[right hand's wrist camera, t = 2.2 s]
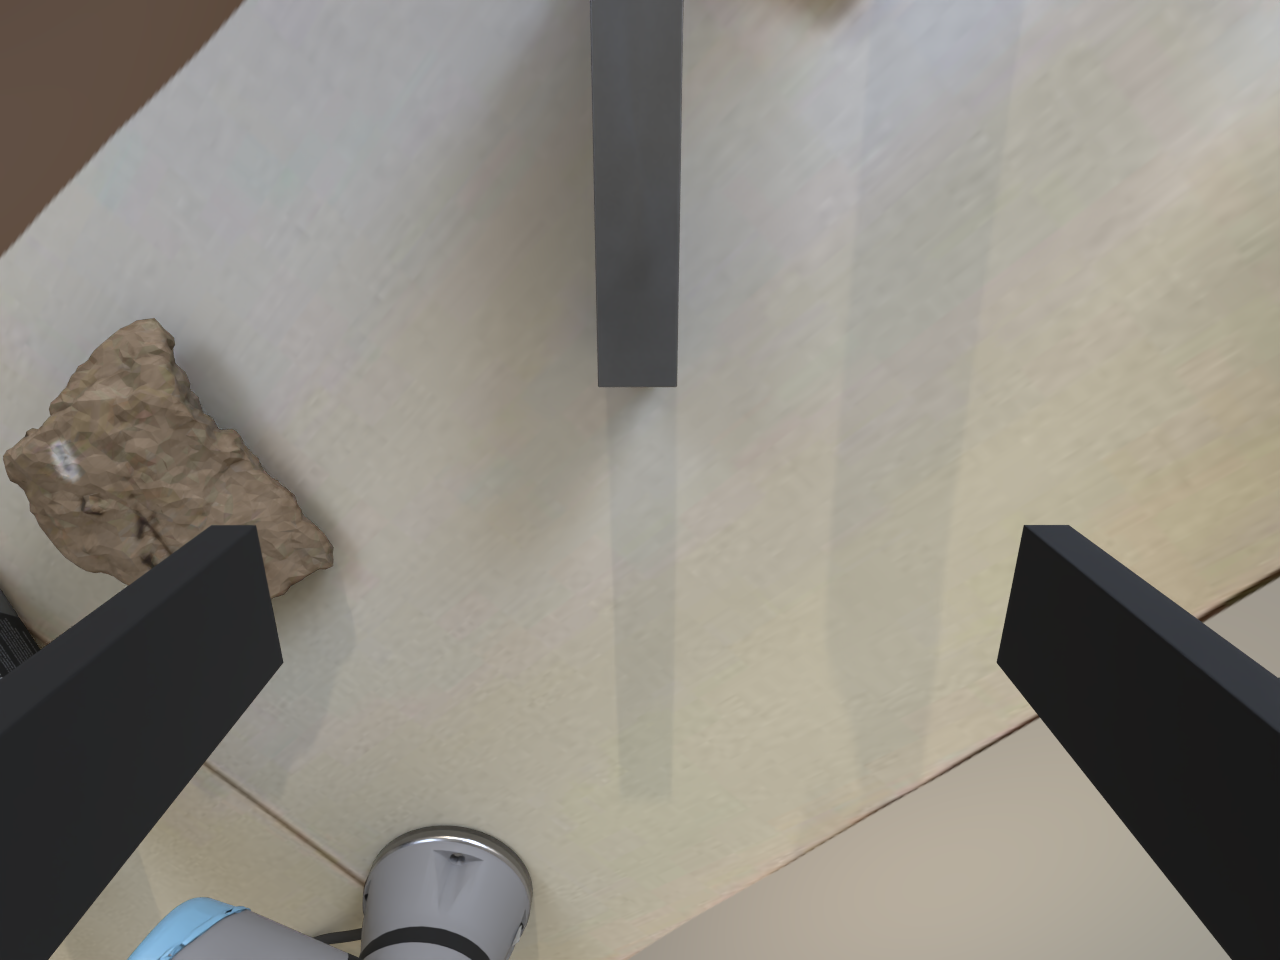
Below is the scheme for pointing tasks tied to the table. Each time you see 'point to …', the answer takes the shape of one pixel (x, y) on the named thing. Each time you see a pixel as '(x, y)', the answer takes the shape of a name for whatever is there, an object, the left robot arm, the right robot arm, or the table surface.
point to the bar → (637, 188)
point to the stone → (151, 470)
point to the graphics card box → (13, 639)
